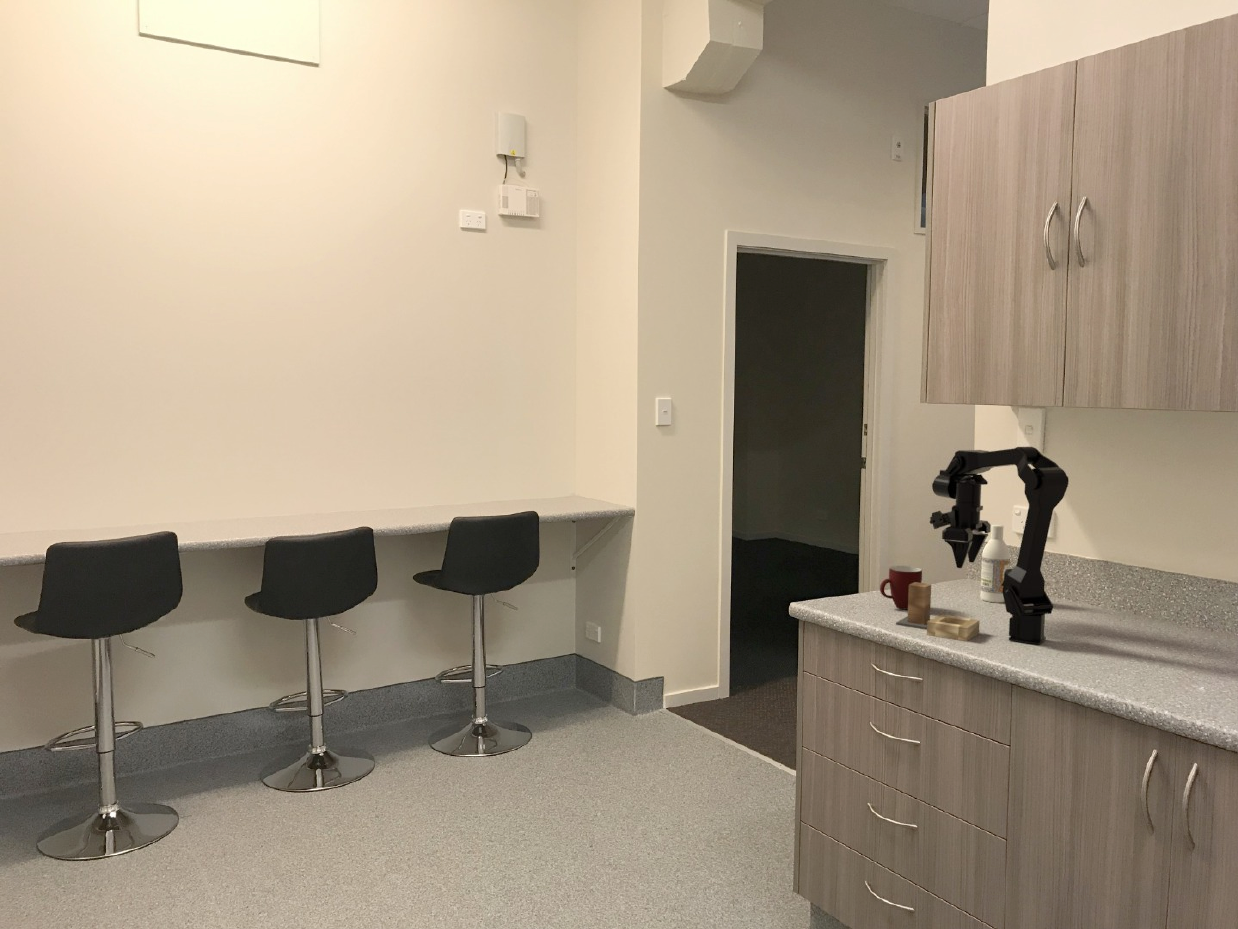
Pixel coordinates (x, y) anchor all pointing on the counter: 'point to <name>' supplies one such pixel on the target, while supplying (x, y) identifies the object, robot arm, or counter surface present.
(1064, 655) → the counter surface
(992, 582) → the bath foam
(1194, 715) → the counter surface
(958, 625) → the holder
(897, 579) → the mug
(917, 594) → the peg
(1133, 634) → the counter surface
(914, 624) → the mat
